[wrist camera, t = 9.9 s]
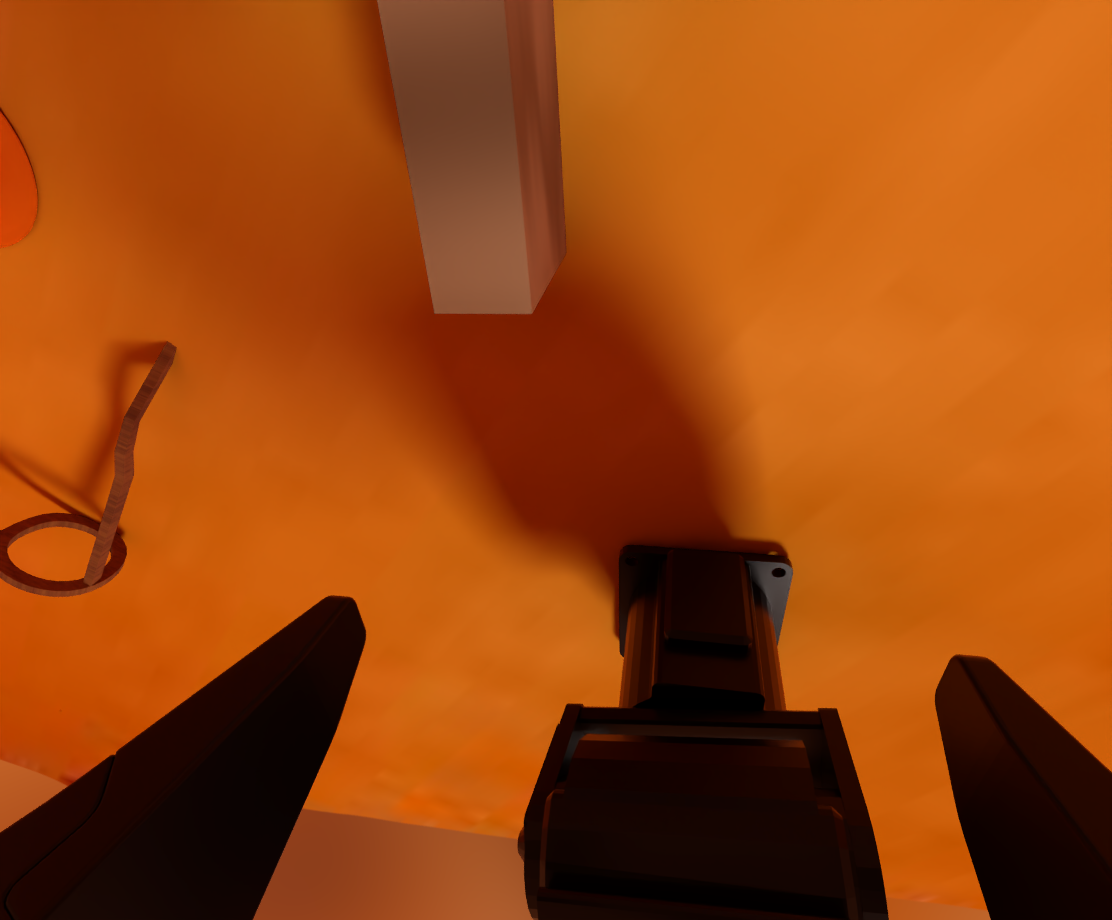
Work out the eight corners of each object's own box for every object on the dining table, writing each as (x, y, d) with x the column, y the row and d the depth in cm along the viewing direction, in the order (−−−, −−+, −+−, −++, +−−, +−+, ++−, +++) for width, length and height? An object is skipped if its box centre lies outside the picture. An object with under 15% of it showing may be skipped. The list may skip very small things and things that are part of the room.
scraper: (769, 249, 17) (794, 314, 13) (316, 255, 20) (220, 312, 16) (832, -235, 12) (905, -371, 8) (205, -141, 15) (19, -209, 10)
